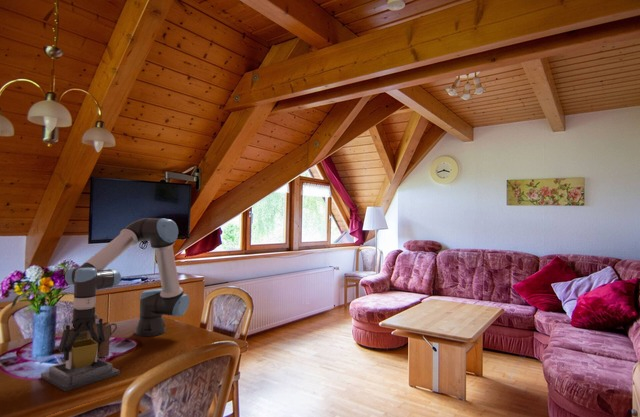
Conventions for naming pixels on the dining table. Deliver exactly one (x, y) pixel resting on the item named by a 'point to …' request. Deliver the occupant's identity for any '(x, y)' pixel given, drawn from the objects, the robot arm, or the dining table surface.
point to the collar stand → (79, 374)
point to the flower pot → (83, 352)
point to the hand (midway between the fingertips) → (81, 364)
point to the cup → (84, 334)
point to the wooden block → (104, 345)
